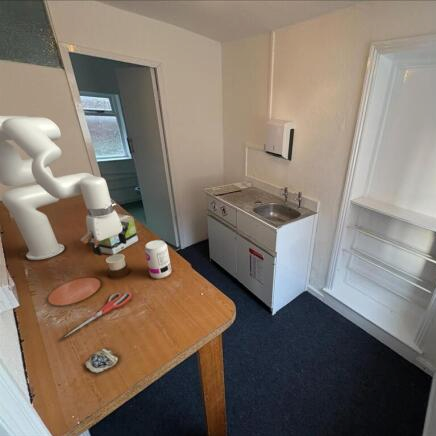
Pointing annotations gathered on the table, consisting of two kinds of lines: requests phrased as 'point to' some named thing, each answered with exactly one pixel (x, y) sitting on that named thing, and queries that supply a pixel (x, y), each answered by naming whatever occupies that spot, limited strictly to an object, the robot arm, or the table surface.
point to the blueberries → (101, 361)
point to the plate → (74, 291)
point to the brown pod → (118, 272)
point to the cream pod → (116, 261)
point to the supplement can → (158, 259)
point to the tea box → (113, 242)
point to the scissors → (108, 307)
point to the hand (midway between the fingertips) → (111, 248)
